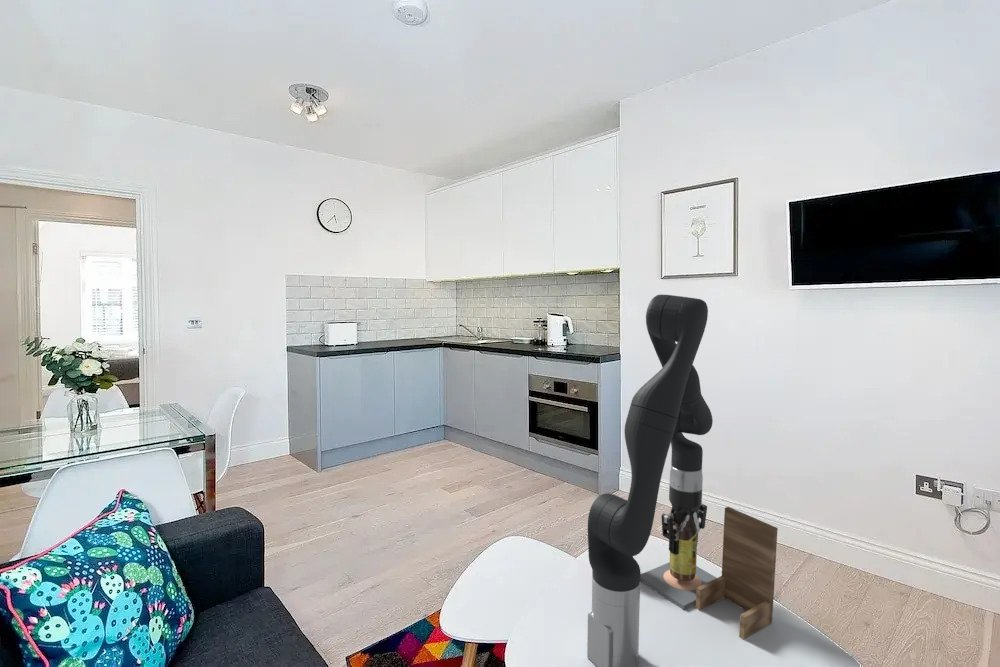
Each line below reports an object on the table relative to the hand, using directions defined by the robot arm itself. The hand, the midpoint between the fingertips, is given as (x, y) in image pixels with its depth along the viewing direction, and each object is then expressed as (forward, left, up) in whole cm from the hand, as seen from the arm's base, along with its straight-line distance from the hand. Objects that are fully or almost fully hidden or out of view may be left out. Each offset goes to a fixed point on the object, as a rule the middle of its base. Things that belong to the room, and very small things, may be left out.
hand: (683, 549), depth 125 cm
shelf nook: (0, -14, -9) cm, 17 cm away
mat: (0, 0, -9) cm, 9 cm away
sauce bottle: (0, 0, -7) cm, 7 cm away
